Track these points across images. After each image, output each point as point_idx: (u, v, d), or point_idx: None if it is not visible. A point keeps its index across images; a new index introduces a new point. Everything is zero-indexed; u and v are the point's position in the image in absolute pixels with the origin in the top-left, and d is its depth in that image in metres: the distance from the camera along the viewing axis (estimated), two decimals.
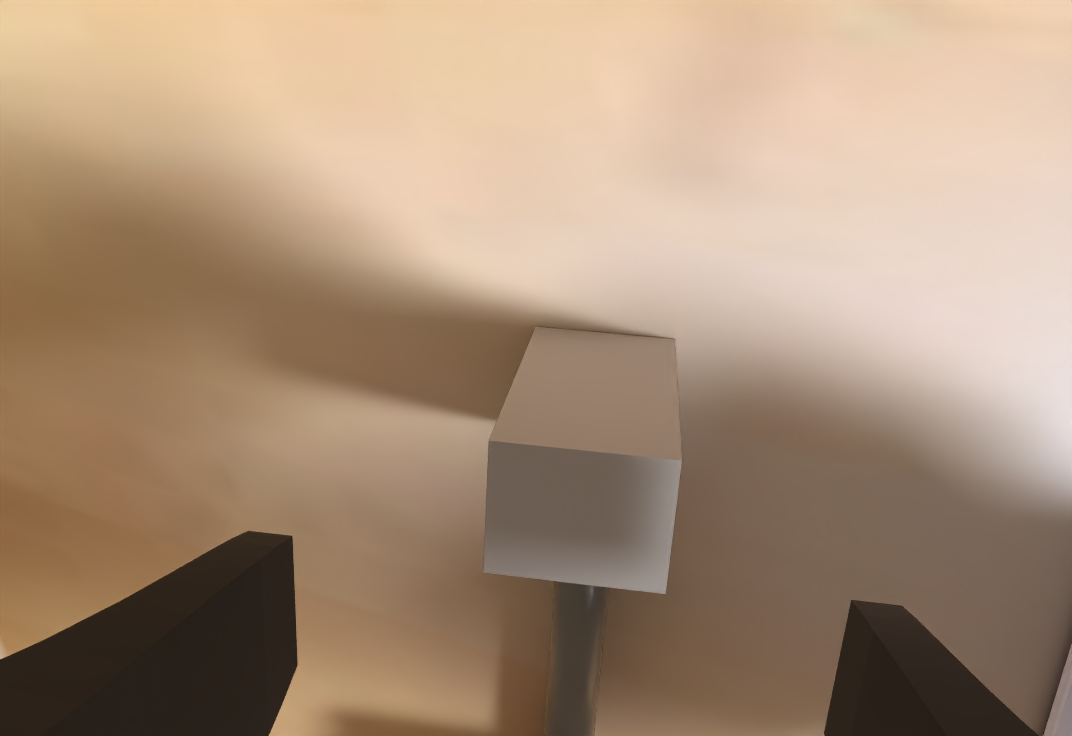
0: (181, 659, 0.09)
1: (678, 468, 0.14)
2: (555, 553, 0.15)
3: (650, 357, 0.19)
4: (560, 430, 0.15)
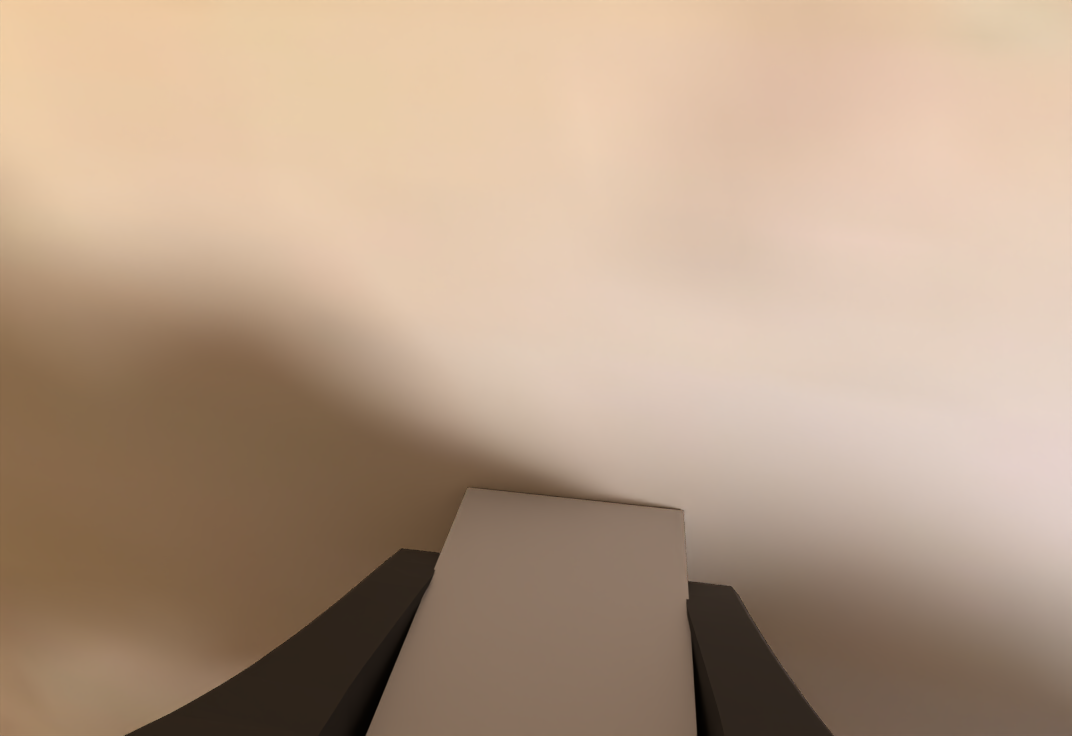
0: (376, 684, 0.09)
1: None
2: None
3: (645, 558, 0.11)
4: None
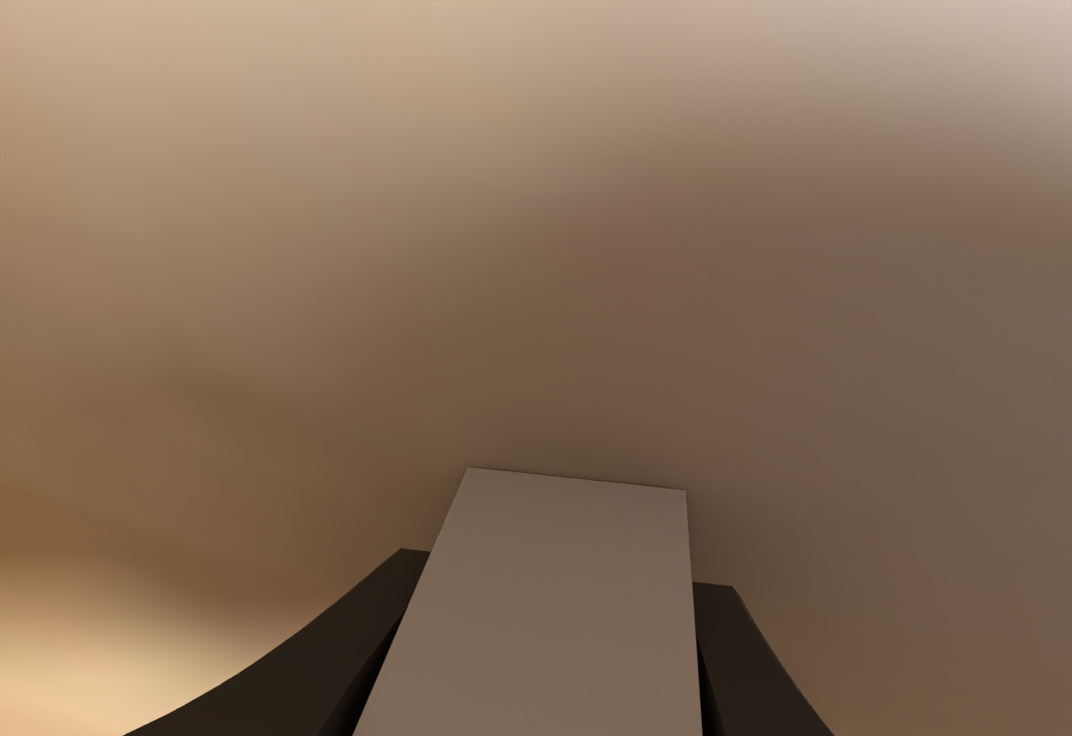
0: None
1: None
2: None
3: (647, 536, 0.11)
4: None
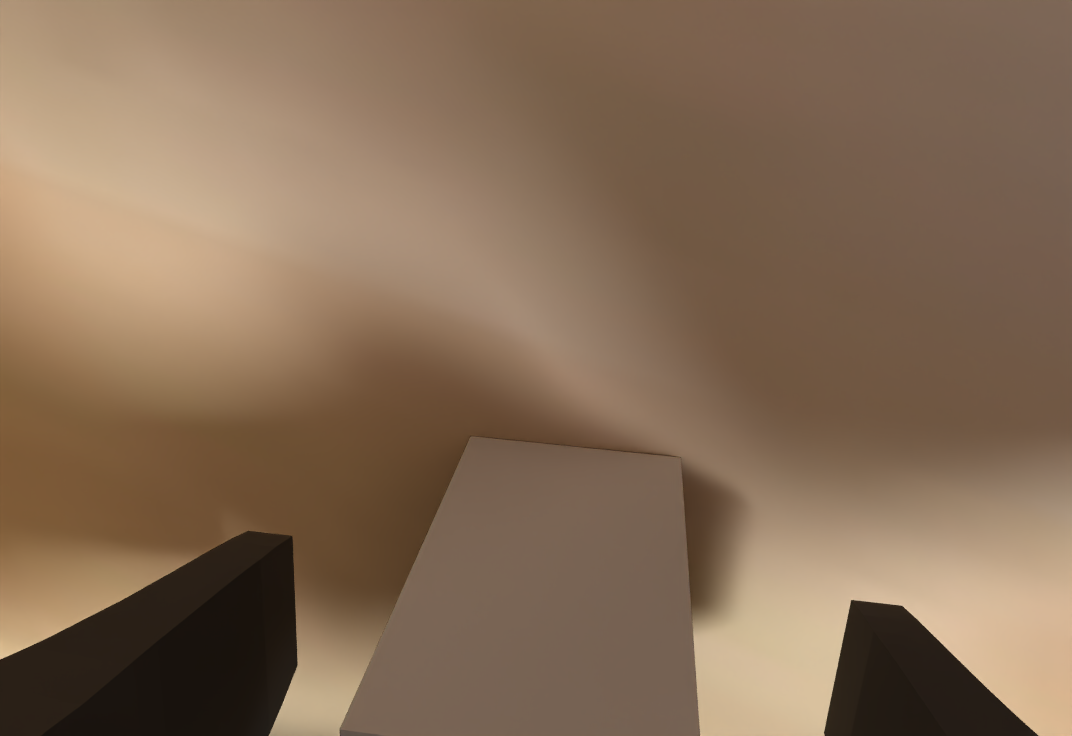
0: (180, 659, 0.09)
1: None
2: None
3: (643, 498, 0.12)
4: (479, 692, 0.08)
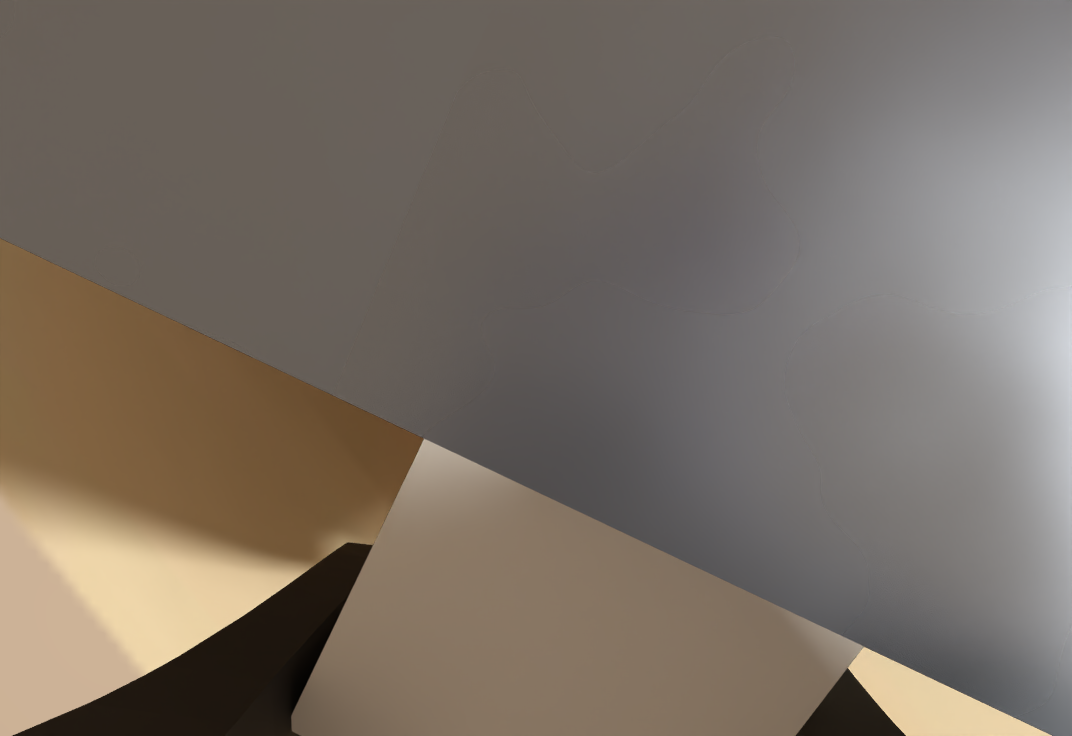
0: (306, 676, 0.09)
1: None
2: None
3: None
4: None
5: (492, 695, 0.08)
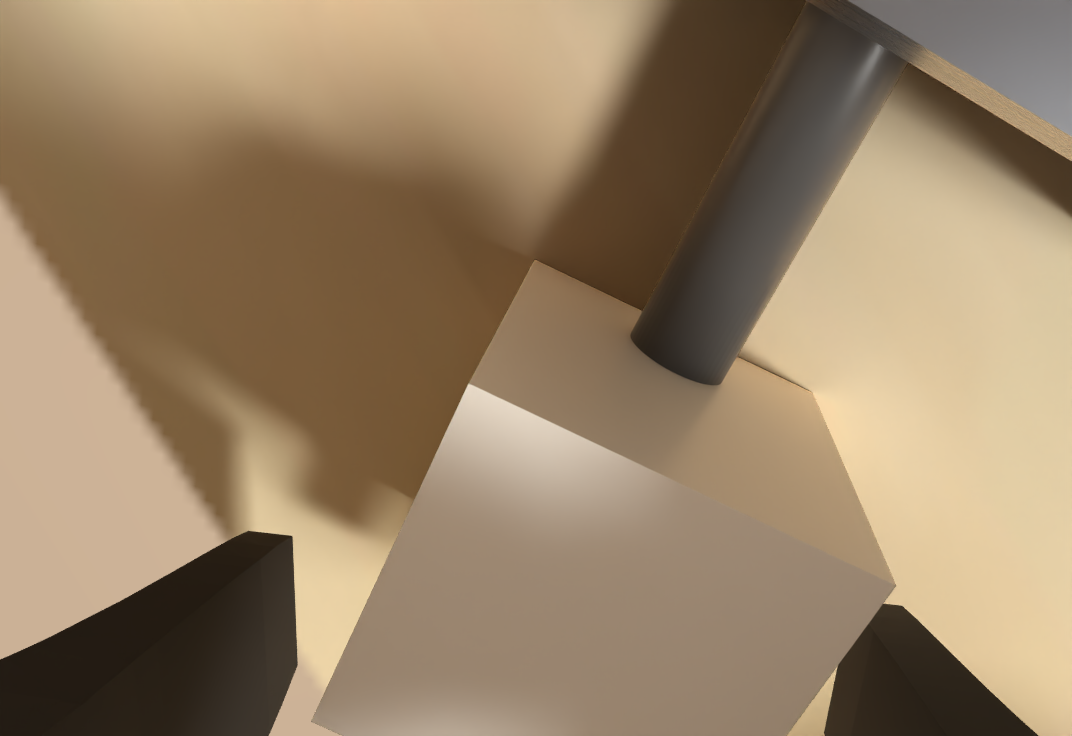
0: (180, 660, 0.09)
1: None
2: None
3: None
4: None
5: (516, 677, 0.09)
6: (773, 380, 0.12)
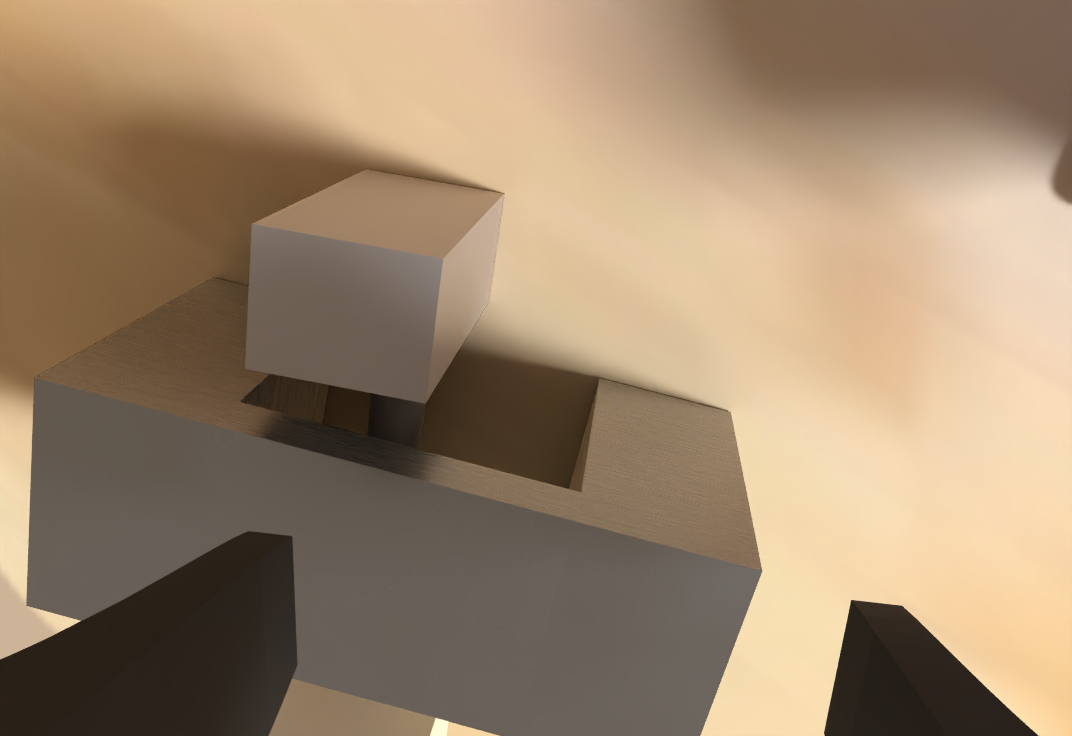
0: (180, 659, 0.09)
1: (439, 267, 0.14)
2: (316, 351, 0.15)
3: (468, 200, 0.18)
4: (332, 227, 0.15)
5: None
6: None
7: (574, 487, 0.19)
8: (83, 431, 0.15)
